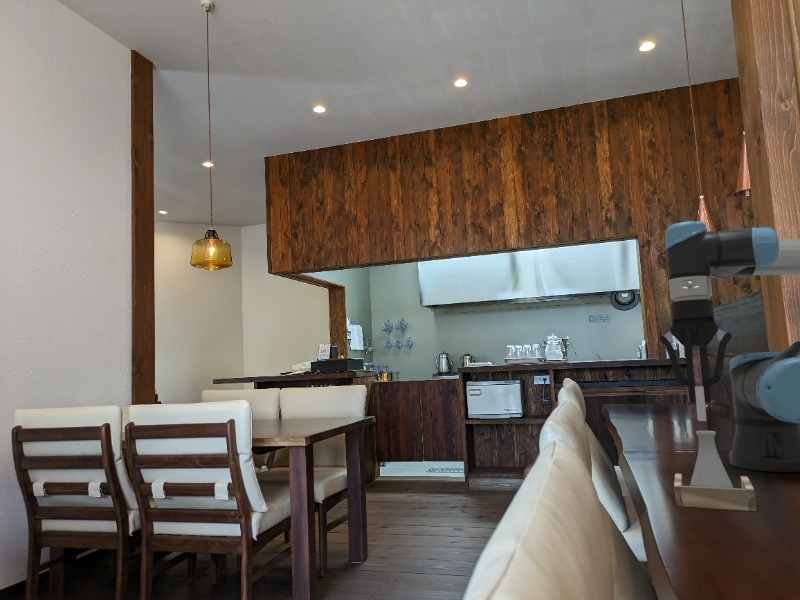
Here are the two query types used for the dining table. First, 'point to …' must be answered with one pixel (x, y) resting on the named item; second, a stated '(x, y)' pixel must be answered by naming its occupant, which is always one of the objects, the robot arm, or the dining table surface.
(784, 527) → the dining table surface
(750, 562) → the dining table surface
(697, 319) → the robot arm
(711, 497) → the caddy
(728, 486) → the flask
